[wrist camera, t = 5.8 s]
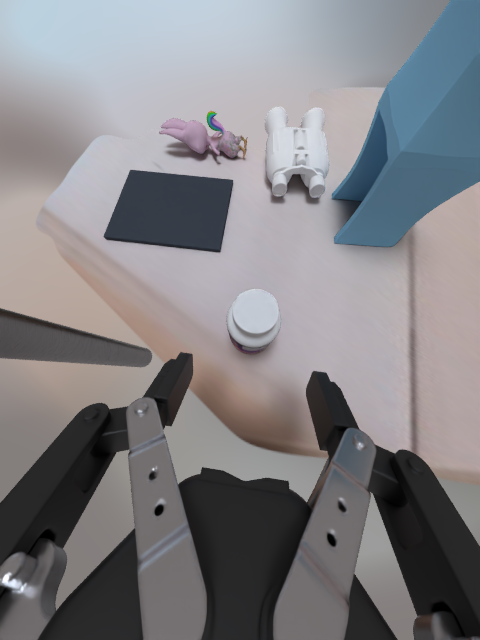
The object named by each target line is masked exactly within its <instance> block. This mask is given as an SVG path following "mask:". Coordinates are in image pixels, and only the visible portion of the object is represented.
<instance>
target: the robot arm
mask: <svg viewBox="0 0 480 640" xmlns="http://www.w3.org/2000/svg"><path fill="white" fill-rule="evenodd" d="M192 376H193V356H192V354H189V353H182V352H181V353H180V354H179V355H178V357H177V359H176V360H175V359H171V360H169V361H168V362H167V363H165V364H164V366H163V367H162V369H161V371H160V372H159V373H158V375H157V377H156V378H155V379H154V381H153V382H152V384H151V385H150V387H149V388H148V390H147V391H146V393H145V395H144V396H143V397H142V398H140V399H137V400H135V401H134V402H133V403H131V404H130V406H127V407H123V408H116V409H109V408H108V406H107V405H106V404H103V403H96V404H92V405H90V406H88V407H86V408H84V409H82V410H81V411H80V412H79V413H78V414H77V415H76V416H75V417H74V419H73V420H72V421H71V422H70V423H69V424H68V425H67V427H66V428H65V429H64V430H63V431H62V432H61V433H60V435H59V436H58V437H57V438H56V439H55V440H54V442H53V443H52V444H51V445H50V446H49V447H48V449H47V450H46V451H45V452H44V453H43V454H42V456H41V457H40V458H39V459H38V460H37V461H36V463H35V464H34V465H33V466H32V467H31V468H30V469H29V471H28V472H27V473H26V474H25V475H24V476H23V478H22V479H21V480H20V481H19V482H18V483H17V485H16V486H15V487H14V488H13V489H12V490H11V491H10V493H9V494H8V495H7V496H6V497H5V498H4V500H3V501H2V502H1V503H0V640H397V638H396V637H395V635H394V633H393V632H392V630H391V629H390V628H389V626H388V624H387V623H386V621H385V620H384V618H383V617H382V615H381V614H380V612H379V611H378V609H377V607H376V606H375V605H374V603H373V601H372V600H371V598H370V597H369V595H368V594H367V592H366V591H365V589H364V588H363V586H362V585H361V583H360V581H359V580H358V578H357V577H356V575H355V574H354V571H355V567H356V562H357V558H358V553H359V548H360V544H361V539H362V534H363V530H364V526H365V521H366V516H367V512H368V507H369V503H370V497H371V494H370V492H371V493H373V495H374V498H375V500H376V503H377V506H378V509H379V512H380V514H381V517H382V520H383V523H384V525H385V528H386V531H387V534H388V536H389V539H390V542H391V544H392V547H393V550H394V553H395V556H396V558H397V561H398V564H399V567H400V569H401V572H402V575H403V578H404V580H405V583H406V586H407V589H408V591H409V594H410V597H411V600H412V603H413V605H414V608H415V611H416V614H417V617H416V619H415V621H414V625H413V632H414V633H413V634H414V640H480V546H479V545H478V543H477V542H476V540H475V539H474V537H473V535H472V534H471V532H470V530H469V529H468V527H467V526H466V524H465V523H464V521H463V519H462V518H461V516H460V515H459V513H458V511H457V510H456V508H455V507H454V505H453V503H452V502H451V501H450V499H449V497H448V496H447V494H446V492H445V491H444V489H443V488H442V486H441V485H440V483H439V481H438V480H437V478H436V477H435V475H434V473H433V472H432V470H431V469H430V467H429V466H428V465H427V464H426V463H425V462H424V461H423V460H422V459H421V458H420V457H419V456H417V455H416V454H414V453H412V452H410V451H407V450H399V451H397V452H396V453H395V454H394V453H392V452H390V451H388V450H385V449H383V448H381V447H379V446H377V445H375V444H374V442H373V441H372V440H371V438H370V437H369V436H368V435H367V434H366V433H364V432H363V431H361V430H360V429H359V427H358V425H357V423H356V421H355V419H354V417H353V415H352V412H351V410H350V408H349V406H348V405H347V402H346V400H345V398H344V395H343V393H342V391H341V389H340V388H339V387H338V386H337V385H336V384H335V382H330V380H329V377H328V375H327V373H324V372H317V371H313V372H312V375H311V377H310V380H309V383H308V385H307V388H306V397H307V401H308V405H309V409H310V413H311V417H312V421H313V424H314V428H315V432H316V436H317V440H318V444H319V448H320V450H324V451H328V455H329V457H328V459H327V461H326V463H325V466H324V468H323V470H322V472H321V475H320V477H319V479H318V481H317V484H316V486H315V488H314V490H313V492H312V494H311V496H310V497H309V499H308V502H306V501H305V500H304V499H303V498H302V497H300V496H299V495H298V494H297V493H295V492H294V491H292V490H290V489H289V482H288V481H284V480H278V479H271V478H263V479H257V480H251V481H243V480H240V479H239V478H236V477H234V476H233V475H231V474H229V473H226V472H225V471H221V470H215V469H210V468H203V467H202V470H201V474H198V475H194V476H191V477H189V478H187V479H185V480H184V481H182V482H181V483H179V484H178V483H177V479H176V475H175V472H174V467H173V464H172V460H171V456H170V452H169V449H168V444H167V441H166V437H165V435H164V431H163V429H164V428H165V425H166V426H172V424H173V421H174V419H175V417H176V414H177V412H178V409H179V407H180V405H181V403H182V400H183V398H184V395H185V393H186V391H187V389H188V386H189V384H190V382H191V379H192ZM129 449H130V452H129V454H128V459H129V471H130V481H131V492H132V503H133V513H134V523H135V528H134V529H133V530H132V532H131V533H130V534H129V535H128V536H127V537H126V538H125V539H124V540H123V541H122V542H121V543H120V544H119V545H118V546H117V547H116V548H115V549H114V550H113V551H112V552H111V553H110V554H109V555H108V556H107V557H106V558H105V559H104V560H103V561H102V562H101V563H100V564H99V565H98V566H97V568H95V569H94V571H93V572H92V573H91V574H90V575H89V576H88V577H87V578H86V579H85V580H84V581H83V582H82V583H81V584H80V585H79V586H78V587H77V588H76V589H75V590H74V591H73V592H72V593H71V594H70V595H69V596H68V597H67V598H66V600H65V601H64V602H63V603H62V605H61V606H60V607H59V608H58V609H57V611H56V608H55V601H56V594H57V590H58V587H59V584H60V582H61V579H62V577H63V575H64V572H65V569H66V564H67V556H66V553H65V551H64V550H63V547H64V545H65V544H66V542H67V540H68V538H69V537H70V535H71V533H72V531H73V529H74V527H75V526H76V524H77V522H78V520H79V519H80V517H81V515H82V513H83V512H84V510H85V508H86V506H87V504H88V503H89V500H90V499H91V497H92V495H93V494H94V492H95V490H96V488H97V486H98V484H99V483H100V481H101V479H102V477H103V476H104V474H105V472H106V470H107V468H108V467H109V465H110V463H111V461H112V459H113V457H114V456H115V454H116V452H119V451H124V450H129Z"/></svg>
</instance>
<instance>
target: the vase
mask: <svg viewBox="0 0 480 640" xmlns="http://www.w3.org/2000/svg"><path fill="white" fill-rule="evenodd" d="M479 181H480V0H450V2H449V3H448V5H447V6H446V8H445V10H444V11H443V13H442V14H441V15H440V17H439V18H438V20H437V21H436V22H435V24H434V25H433V27H432V28H431V29H430V31H429V32H428V34H427V35H426V36H425V38H424V39H423V41H422V42H421V43H420V44H419V46H418V47H417V48H416V50H415V51H414V52H413V54H412V55H411V56H410V58H409V59H408V60H407V61H406V63H405V64H404V65H403V66H402V68H401V69H400V70H399V71H398V73H397V74H396V75H395V76H394V77H393V79H392V80H391V81H390V82H389V84H388V85H387V87H386V89H385V91H384V93H383V95H382V97H381V98H380V100H379V102H378V106H377V109H376V112H375V115H374V118H373V121H372V124H371V127H370V130H369V132H368V135H367V138H366V140H365V143H364V145H363V148H362V150H361V152H360V154H359V156H358V158H357V160H356V162H355V164H354V166H353V167H352V169H351V171H350V172H349V174H348V175H347V176H346V178H345V179H344V180H343V182H342V183H341V184H340V185H339V187H338V188H337V189H336V190H335V191H334V192H333V193H332V199H344V200H358V201H362V203H361V204H360V206H359V207H358V208H357V210H356V211H355V212H354V214H353V215H352V216H351V218H350V219H349V220H348V221H347V223H346V224H345V225H344V226H343V228H342V229H341V230H340V231H339V232H338V233H337V235H336V236H335V237H334V241H335V243H338V244H351V245H365V246H378V247H392V246H394V245H395V244H396V243H397V242H398V241H399V240H400V239H401V238H402V236H403V235H404V234H405V233H406V232H407V231H408V230H409V229H410V228H411V227H412V226H413V225H414V224H415V223H416V222H417V221H419V220H420V219H421V218H422V217H424V216H425V215H426V214H427V213H429V212H430V211H431V210H433V209H434V208H436V207H437V206H439V205H440V204H442V203H443V202H445V201H447V200H448V199H450V198H451V197H453V196H455V195H456V194H458V193H460V192H462V191H463V190H465V189H467V188H469V187H470V186H472V185H474V184H476V183H478V182H479Z"/></svg>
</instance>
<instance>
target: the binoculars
mask: <svg viewBox="0 0 480 640" xmlns="http://www.w3.org/2000/svg"><path fill="white" fill-rule="evenodd" d="M287 122H288V117H287V113H286V111H285V110H284V109H283V108H282V107H274V108H273V109H271V110H270V111H269V113H268V114H267V116H266V119H265V130H266V132H267V134H268V137H269V138H268V140H267V144H266V173H267V177H268V179H269V181H270V182H271V183H272V192H273V194H274V195H275V196H277V197H280V196H283V195H284V194H285V193H286V192H287V183H288V182H289V181H290V178H291V176H292V174H301V178H302V180H303V182H304V184H305V185H306V186H307V187H309V194H310V196H311V197H313V198H316V197H319V196H321V195H322V194H323V193H324V191H325V183H324V179H325V178H326V176H327V173H328V170H329V158H328V151H327V143H326V136H325V134H324V132H323V131H322V130H323V126H324V123H325V115H324V112H323V110H322V109H320V108H312V109H310V110H309V111H308V112H307V113H306V114H305V115H304V117H303V119H302V122H301V129H298V128H292V127H287Z"/></svg>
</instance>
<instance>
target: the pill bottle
mask: <svg viewBox="0 0 480 640" xmlns="http://www.w3.org/2000/svg"><path fill="white" fill-rule="evenodd" d="M226 322H227V328H228V331H229V335H230V338H231V341H232V343H233V345H234V346H235V347H236V348H237V349H238V350H240V351H242V352H244V353H248V354H253V353H257V352H260V351H262V350H263V349H264V348H265V347H267V346H268V345H269V344H270V343H271V342H272V341H273V340H274V339H275V337H276V336H277V334H278V332H279V330H280V326H281V317H280V313H279V306H278V303H277V301H276V299H275V298H274V297H273V296H272V295H271V294H270V293H268V292H267V291H264V290H261V289H250V290H247V291H244V292H243V293H241V294H240V295H239V296H238V297H237V298H236V300H235V301H234V303H233V304H232V305H231V307H230V309H229V311H228V314H227V320H226Z"/></svg>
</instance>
